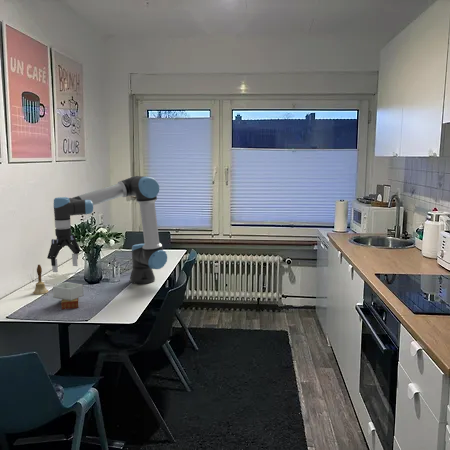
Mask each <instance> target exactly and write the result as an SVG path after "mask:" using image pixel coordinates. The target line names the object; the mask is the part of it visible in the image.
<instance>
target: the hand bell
mask: <svg viewBox="0 0 450 450" xmlns="http://www.w3.org/2000/svg"><path fill="white" fill-rule="evenodd" d="M36 273H37V278H38V279H37V282H36V283H35V288H34V290H33V292H32V294H33V295H44V294H45V295H46V294H47V293H49V289H47V287H46V285H45V282H43V281H42V273H43V271H42V266H41V264H37V268H36Z"/></svg>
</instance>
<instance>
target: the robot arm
mask: <svg viewBox="0 0 450 450" xmlns="http://www.w3.org/2000/svg"><path fill="white" fill-rule="evenodd" d="M159 192H160V184H159V182H158V181H157V179H155V178H154V177H151V176H148V175H147V176H146V175H145V176H144V175H143V176H141V175H136V176H135V175H134V176H132V177H129V178H125V179H122V180H119V181H118V182H117V183H116V184H114V185H110V186H107V187H102V188H100V189H96V190H93V191H90V192H87V193H83V194H81V195H80V194H79V195H77V196H74V197H66V196H65V197H64V196H62V197H60V196H59V197H55V198H54V199H53V215H54V228H55V229H54V230H55V231H54V232H55V236H56V239H54V238H52V239H51V242H50V248H49V251H48V253H47V254H48V255H47V257H46V258H47V259H49V260H50V262H51V267H52V273H58V272H59V271H58V270H59V269H58V258H57V257H58V255H59V253H60V251H61V249H62V248H64V247H68V248H69V250H70V251H71V252H72V253H71V261H72V267H78V265H79V264H78V259H79V255H78V254H80V252H81V248H80V246H79V244H78V241H77V240H76V235H74V234H73V235H72V228H71V227H72V223H71V216H72V217H73V216H80V215H83V216H84V215H89V214H90V215H91V214H92V213H93V211H94V206H96V205H99V204H101V203H106V202H109V201H112V200H115V199H118V198H120V197H122V198H126V197H133V196H134V197H135V198H136V199H135V200H136V203H138V204H139V209H140V219H141V226H142V234H143V241H144V243H138V244H134V245H132V246H131V262H132V264H131V265H132V266H131V267H132V268H131V274H130V276H129V282H130V283H132V284H135V285H136V284H137V285H139V284H140V285H143V284H145V285H146V284H151V283H154V282H155V280H156V277H155V273H154V271H153V270H161V269H162V268H164V267H165V265H166V264H167V262H168V255H167V252H166V251H164V249H163V248H164V247H163V244H162V243H161V242H160V236H159V227H158V222H157V221H158V220H157V210H156V205H155V204H156V203H155V202H156V201H157V199H158V197H157V196H158V195H159Z"/></svg>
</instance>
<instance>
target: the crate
mask: <svg viewBox="0 0 450 450" xmlns="http://www.w3.org/2000/svg"><path fill="white" fill-rule="evenodd" d="M52 294H53V295H52V296H53V298H54V299H59V300H62V299H64V300H69V301H72V300H74V299H77V298H78V299H79V298H82V297H85V296H84V295H85V294H84V285H83V284H81V283H75V282H70V281H69V282H68V281H64V282H62V283H59V284H56V285H53V286H52Z"/></svg>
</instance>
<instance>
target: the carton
mask: <svg viewBox="0 0 450 450" xmlns="http://www.w3.org/2000/svg"><path fill="white" fill-rule="evenodd" d="M60 305H61V310H70V309H78V308H79V298H77V299H74V300H72V301H69V300H64V299H61V303H60Z"/></svg>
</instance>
